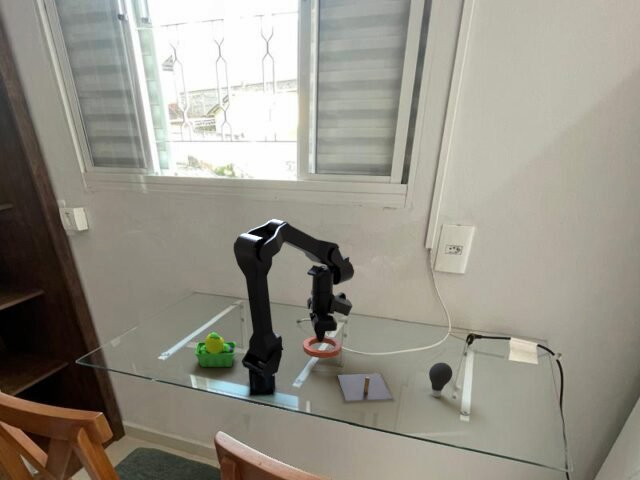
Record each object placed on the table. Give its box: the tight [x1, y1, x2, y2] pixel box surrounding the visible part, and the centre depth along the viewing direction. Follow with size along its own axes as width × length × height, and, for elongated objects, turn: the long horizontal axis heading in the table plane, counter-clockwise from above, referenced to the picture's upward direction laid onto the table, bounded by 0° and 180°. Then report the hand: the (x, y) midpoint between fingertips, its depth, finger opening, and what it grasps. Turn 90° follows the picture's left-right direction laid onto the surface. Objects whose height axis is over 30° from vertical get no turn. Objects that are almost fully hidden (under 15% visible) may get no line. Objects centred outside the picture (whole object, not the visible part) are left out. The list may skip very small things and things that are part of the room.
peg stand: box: [337, 373, 393, 402], centre depth 112 cm, size 12×13×5 cm
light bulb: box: [428, 362, 453, 398], centre depth 107 cm, size 6×6×10 cm
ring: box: [302, 335, 343, 359], centre depth 119 cm, size 11×11×2 cm
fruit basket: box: [194, 332, 236, 368], centre depth 121 cm, size 11×9×11 cm
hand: (319, 340), depth 123 cm, fingers closed on ring, 2 cm apart
